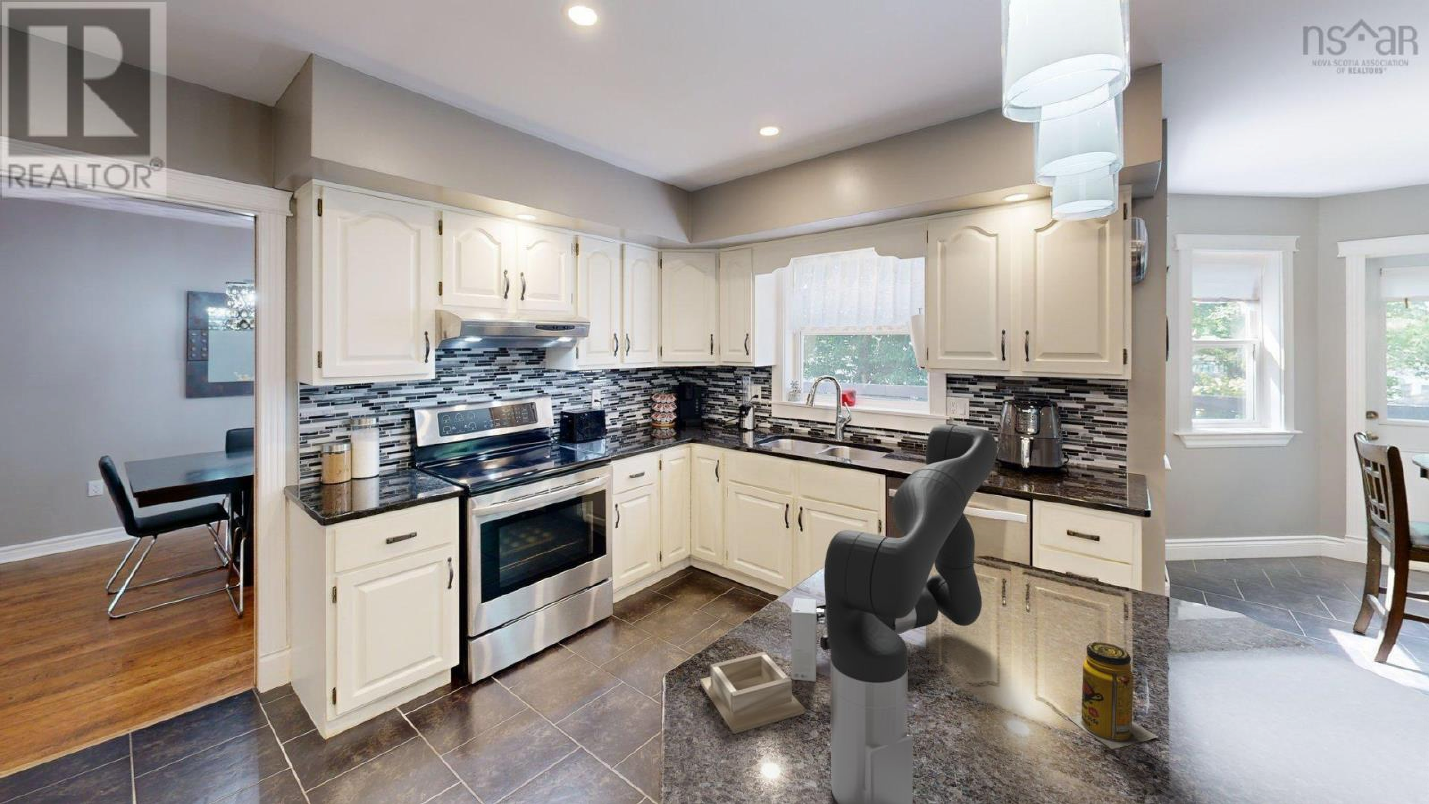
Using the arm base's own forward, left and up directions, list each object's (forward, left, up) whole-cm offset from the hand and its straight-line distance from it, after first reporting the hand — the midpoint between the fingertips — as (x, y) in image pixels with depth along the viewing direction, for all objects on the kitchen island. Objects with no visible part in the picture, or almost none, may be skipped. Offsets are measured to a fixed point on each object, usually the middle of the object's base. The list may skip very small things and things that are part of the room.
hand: (808, 632), depth 98 cm
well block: (-3, +13, -7) cm, 15 cm away
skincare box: (0, +1, -7) cm, 7 cm away
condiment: (-31, -32, -7) cm, 45 cm away
